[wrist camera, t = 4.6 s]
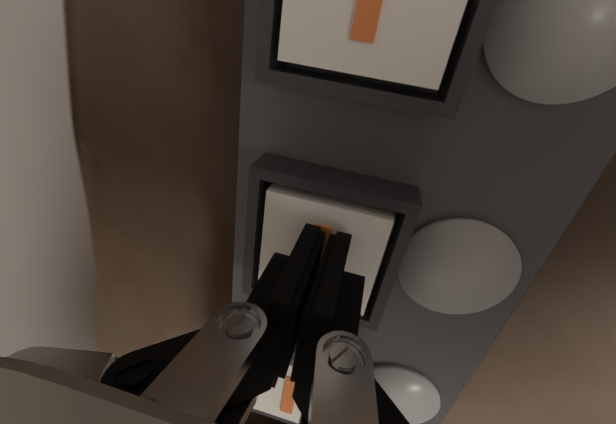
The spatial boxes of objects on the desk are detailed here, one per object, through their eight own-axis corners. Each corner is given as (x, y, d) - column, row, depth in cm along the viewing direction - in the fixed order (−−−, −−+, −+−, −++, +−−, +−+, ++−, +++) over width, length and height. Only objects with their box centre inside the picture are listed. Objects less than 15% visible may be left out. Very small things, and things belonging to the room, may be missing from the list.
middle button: (393, 199, 12) (394, 222, 10) (366, 287, 14) (362, 317, 13) (280, 173, 12) (265, 191, 11) (270, 262, 15) (256, 287, 13)
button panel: (711, -131, 9) (976, -275, 5) (419, 399, 21) (426, 481, 17) (289, -169, 10) (224, -301, 6) (247, 345, 22) (216, 410, 19)
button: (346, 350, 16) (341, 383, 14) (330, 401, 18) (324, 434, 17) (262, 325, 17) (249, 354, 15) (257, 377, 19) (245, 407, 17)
